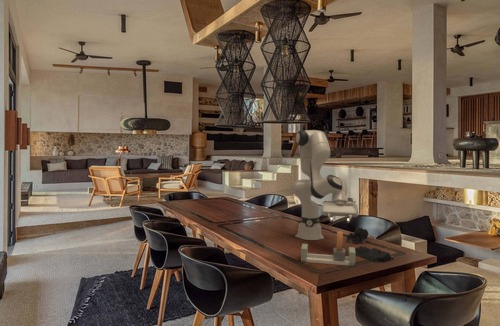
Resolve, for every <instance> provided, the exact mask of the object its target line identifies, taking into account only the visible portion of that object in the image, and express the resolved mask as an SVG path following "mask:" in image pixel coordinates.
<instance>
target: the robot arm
mask: <svg viewBox="0 0 500 326" xmlns="http://www.w3.org/2000/svg"><path fill="white" fill-rule="evenodd" d="M329 139H330V138H329V134H328V132H327V131H324V130H317V129H310V130H309V129H306V130H304V129H303V130H301V129H300V130H298V131H297V133H296V134H295V142H296V144H297V145H298V146H300V154H299V155H300V156H299V157H300V171H301V173H302V174H304V175H306V176H307V177H308V178H309V179H297V180H294V181H293V182H292V184H291V191H292V193H293V194H294V196H295V197H297V198H298V199H299V201H300V204H301V216H300V223H299V224H298V230H297V231H298V232H297V233H296V234H295V236H294V237H295V238H299V239H301V240H304V241H305V240H306V241H319V240H324V239H325V237H324V235H323V234H322V226H321V224H320V217H319V213H320V212H319V211H320V210H319V208H320V206H319V204H318V203H317V202H316V201H313V200H312V198H311V197H314V198H316V199H319V200H322V199H324V198H326V196H327V195H329V194H332V195H331V200H329V201H328V200H324V201H322V202H321V215H323V216H327V218H328V219H329V222H333V217H344V218H345V217H347V218H346V223H347V224H349V223H350V222H351V219H352V218H357V217H358V216H359V210H358V205H357V204H356V199H355V198H353V197H350V196H348V185H347V182H346V180H345V179H344V178H343V177H341V176H339V177H338V176H336V175H333V174H328V175H326V176H325V177H323V176H322V175H321V169H322V168H323V166H324V164H325V163H326V162H327V160H328V159H329V158H330V156H331V147H330V144H329Z"/></svg>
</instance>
